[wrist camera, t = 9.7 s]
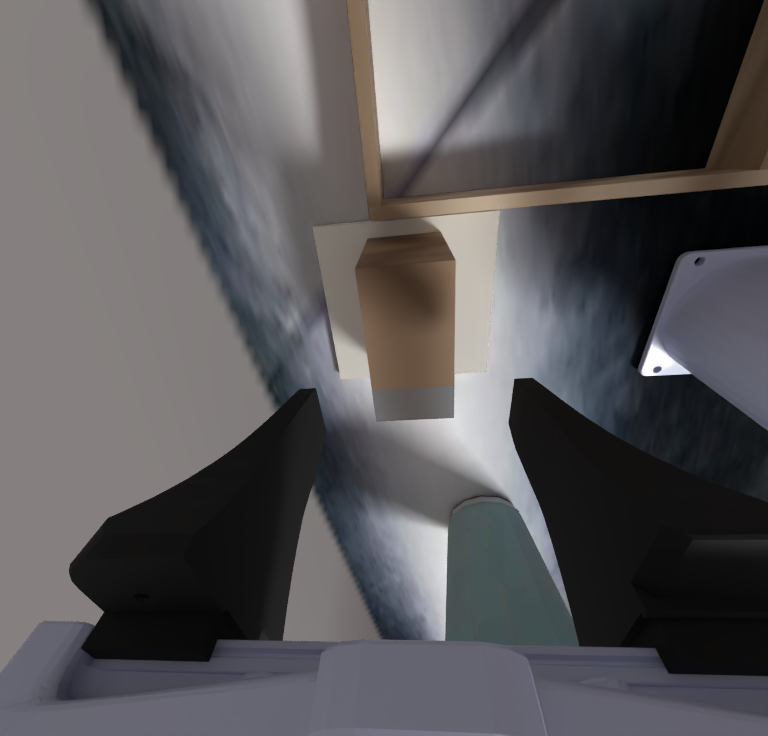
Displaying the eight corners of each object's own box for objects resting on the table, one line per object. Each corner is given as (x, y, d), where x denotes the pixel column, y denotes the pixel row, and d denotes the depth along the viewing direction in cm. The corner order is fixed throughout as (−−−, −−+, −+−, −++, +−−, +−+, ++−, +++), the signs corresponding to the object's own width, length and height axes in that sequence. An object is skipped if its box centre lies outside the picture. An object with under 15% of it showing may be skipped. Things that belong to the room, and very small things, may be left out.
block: (440, 231, 18) (455, 260, 13) (441, 358, 22) (453, 417, 17) (367, 238, 19) (354, 268, 14) (382, 362, 23) (376, 421, 18)
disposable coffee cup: (542, 473, 29) (654, 725, 16) (541, 545, 34) (624, 776, 21) (418, 487, 30) (430, 726, 18) (436, 554, 36) (456, 773, 23)
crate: (855, -205, 11) (988, -312, 9) (713, 180, 17) (767, 184, 14) (342, -115, 13) (327, -183, 10) (373, 212, 18) (369, 221, 16)
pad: (497, 208, 18) (499, 210, 18) (484, 367, 23) (486, 371, 23) (314, 225, 19) (312, 227, 18) (342, 374, 24) (340, 379, 24)
